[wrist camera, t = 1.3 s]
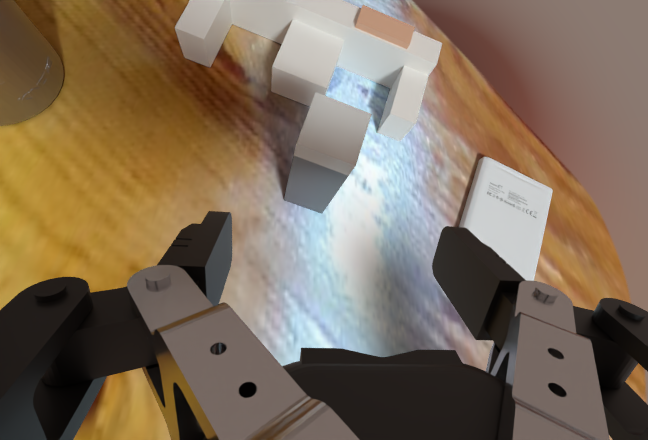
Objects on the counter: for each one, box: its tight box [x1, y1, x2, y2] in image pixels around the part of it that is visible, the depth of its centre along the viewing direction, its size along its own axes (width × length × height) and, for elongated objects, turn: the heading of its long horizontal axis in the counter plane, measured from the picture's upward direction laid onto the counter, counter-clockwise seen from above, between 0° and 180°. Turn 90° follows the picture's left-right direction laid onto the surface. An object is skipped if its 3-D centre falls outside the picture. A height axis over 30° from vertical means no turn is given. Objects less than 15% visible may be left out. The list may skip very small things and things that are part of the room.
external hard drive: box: [459, 157, 553, 281], centre depth 32 cm, size 2×8×12 cm
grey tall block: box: [284, 92, 371, 213], centre depth 24 cm, size 4×4×11 cm
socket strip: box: [175, 0, 442, 142], centre depth 30 cm, size 22×8×6 cm, turn 73°
